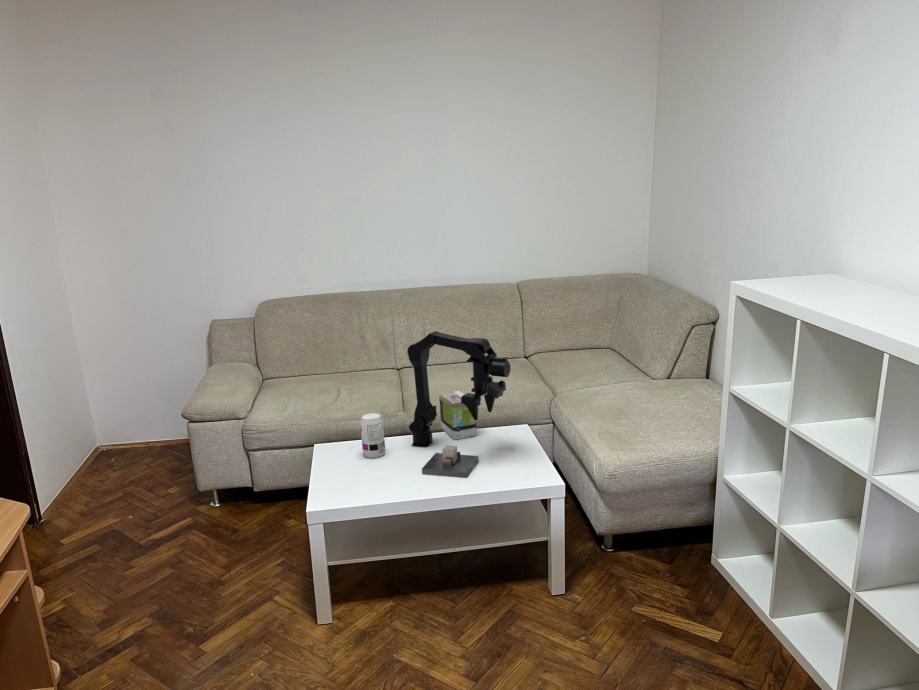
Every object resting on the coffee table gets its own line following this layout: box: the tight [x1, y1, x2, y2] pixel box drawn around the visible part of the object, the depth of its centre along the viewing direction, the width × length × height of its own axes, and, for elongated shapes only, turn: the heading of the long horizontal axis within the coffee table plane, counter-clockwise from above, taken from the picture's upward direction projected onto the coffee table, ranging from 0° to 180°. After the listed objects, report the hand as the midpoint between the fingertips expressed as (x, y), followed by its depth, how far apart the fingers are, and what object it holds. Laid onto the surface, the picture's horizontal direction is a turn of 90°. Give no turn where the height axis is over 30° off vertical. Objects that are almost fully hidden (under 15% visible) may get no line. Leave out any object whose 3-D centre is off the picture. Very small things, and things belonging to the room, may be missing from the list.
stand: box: [421, 451, 480, 479], centre depth 250 cm, size 16×14×4 cm
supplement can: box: [359, 412, 386, 459], centre depth 264 cm, size 8×8×15 cm
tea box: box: [438, 390, 478, 440], centre depth 281 cm, size 15×10×15 cm, turn 22°
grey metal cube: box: [441, 444, 458, 464], centre depth 249 cm, size 4×4×5 cm
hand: (483, 416), depth 258 cm, fingers open, 9 cm apart
